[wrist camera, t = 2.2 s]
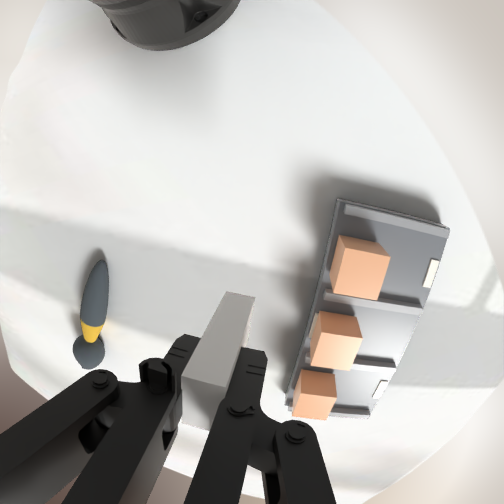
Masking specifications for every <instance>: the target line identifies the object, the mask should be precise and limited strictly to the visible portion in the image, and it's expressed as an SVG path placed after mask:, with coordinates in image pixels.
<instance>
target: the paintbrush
mask: <svg viewBox="0 0 504 504" xmlns="http://www.w3.org/2000/svg"><path fill="white" fill-rule="evenodd" d="M108 293H109V279H108V270H107V265H106V263H105V262H104V261H103V260H100V261H99V262H98V263H97V264H96V265H95V266H94V268H93V270H92V272H91V274H90V276H89V278H88V281H87V284H86V287H85V290H84V294H83V298H82V303H81V311H80V320H81V326H82V331H83V335H81V336H79V337H78V338H77V339H76V340H75V342H74V344H73V354H74V356H75V358H76V360H77V361H78V362H79V364H80V365H81V366H82V368H84V369H93V368H95V367H97V366H98V365H99V364H100V363H101V362H102V360H103V358H104V355H105V348H104V345H103V343H102V342H101V340H100V339H99V338H97V337H98V335H99V333H100V331H101V329H102V327H103V325H104V323H105V319H106V313H107V306H108Z"/></svg>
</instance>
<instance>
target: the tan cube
mask: <svg viewBox="0 0 504 504" xmlns="http://www.w3.org/2000/svg"><path fill="white" fill-rule="evenodd" d="M336 399H337V392H336V381H335V374H331V373H323V372H316V371H310V370H303V369H301V372H300V375H299V378H298V381H297V384H296V387H295V390H294V394H293V408H292V416H295V417H302V418H310V419H319V420H326V419H327V417H328V415H329V413H330V411H331V409H332V407H333V405H334V403H335V401H336Z"/></svg>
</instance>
